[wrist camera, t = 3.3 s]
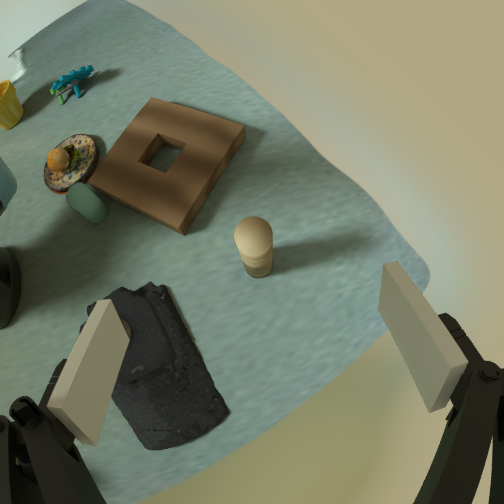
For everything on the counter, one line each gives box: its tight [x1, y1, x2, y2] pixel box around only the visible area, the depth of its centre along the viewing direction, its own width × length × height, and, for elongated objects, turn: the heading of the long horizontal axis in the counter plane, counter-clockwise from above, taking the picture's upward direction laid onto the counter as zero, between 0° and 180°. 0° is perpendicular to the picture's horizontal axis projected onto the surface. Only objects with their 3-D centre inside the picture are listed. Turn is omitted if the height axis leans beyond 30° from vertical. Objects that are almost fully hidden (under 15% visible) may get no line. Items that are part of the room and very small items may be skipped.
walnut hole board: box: [88, 97, 246, 235], centre depth 45 cm, size 18×18×3 cm
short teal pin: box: [66, 182, 108, 223], centre depth 42 cm, size 4×4×7 cm
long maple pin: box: [234, 217, 273, 278], centre depth 36 cm, size 4×4×12 cm
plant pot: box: [0, 80, 24, 130], centre depth 50 cm, size 10×10×10 cm
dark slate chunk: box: [80, 282, 229, 450], centre depth 37 cm, size 15×22×5 cm
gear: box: [50, 65, 94, 104], centre depth 52 cm, size 11×6×10 cm
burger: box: [44, 134, 99, 194], centre depth 45 cm, size 12×12×8 cm
